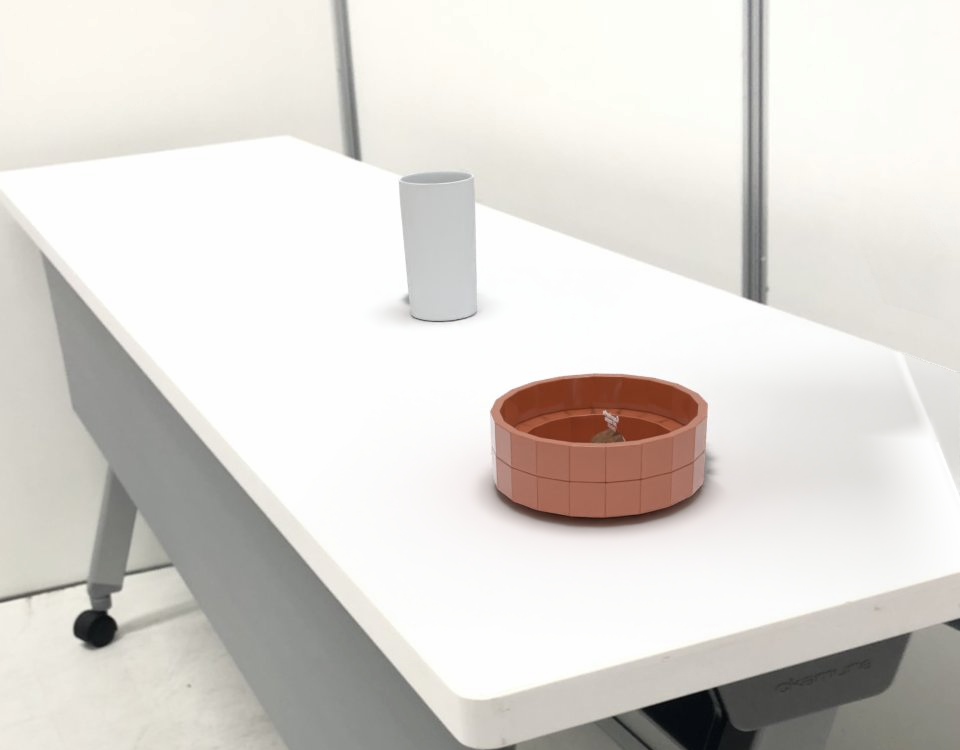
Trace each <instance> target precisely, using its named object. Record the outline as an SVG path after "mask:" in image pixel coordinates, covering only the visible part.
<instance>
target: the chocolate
mask: <svg viewBox="0 0 960 750" xmlns="http://www.w3.org/2000/svg"><path fill="white" fill-rule="evenodd" d="M609 414H610V413H609ZM609 414H608V413H606V410H605V411H603V415H607V417H609V418H611V419H612V420H613V425H614V424H615V425H614V426H616V423H615V422H617V423H618V421H619V419H618V416H616V418H617V420H616V418H614V417H613V416H611V415H609ZM607 417H605V421H607V422H608V427H609V428H611V429H607V430H605V431H603V432H600V433H599V434H597V435H595V436H594V437H593V438H592V439H591V441H590V443H616V442H625V440H624V438H623V436H622V434H620V433H619V432H618V431H617V430H616V429H617V426H616V428H615V427H613V426H612V425H611V424H612V420H610V419H608V418H607ZM607 419H608V420H607ZM609 423H611V424H609Z"/></svg>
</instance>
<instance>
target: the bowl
mask: <svg viewBox="0 0 960 750" xmlns="http://www.w3.org/2000/svg"><path fill="white" fill-rule="evenodd" d="M605 410H606V413H608V414H609V413H610V414H609V415H611V416H613V417H614V418H616V416H618V419H619V421H618V423H617V422H615V423H616V426H617V429H616V430H617V431H618V432H619V433H620V434H622V436H623V438H624V440H625V442H616V443H590V441H591V439H592V438H593V437H594V436H595V435H597V434H599V433H600V432H603V431H605V430H607V429H611V428H609V427H608V422H607V421H605V417H607V415H603V411H605ZM708 411H709V404H708V402H707V401H706V400H705V399H704V398H703V397H702V396H701V394H699V392H696V391H694V390H692V389H691V388H688V387H686V386H684V385H682V384H679V383H677V382H673V381H669V380H665V379H661V378H657V377H652V376H645V375H644V376H643V375H635V374H626V373H598V372H597V373H595V372H594V373H584V374H571V375H570V374H569V375H560V376H554V377H551V378H550V377H549V378H545V379H539V380H536V381H535V380H534V381H530V382H529V383H526V384H522V385H519V386H517V387H514V388H512V389H510V390H508V391H506V392H505V393H503V394H502V395H501V396H499V397H498V398H496V399H495V400H494V403H493V405H492V406H491V408H490V410H489V418H490V419H489V420H490V421H489V422H490V440H491V441H490V444H491V468H492V469H491V470H492V479H493V481H494V485H495V486H496V489H497V490H498V491H499V492H501V493H502V494H503V495H504V496H505V497H507V498H508V499H510V500H511V501H512V502H514V503H516V504H519V505H522V506H524V507H526V508H530V509H532V510H535V511H539V512H545V513H550V514H556V515H561V516H567V517H576V518H588V519H591V518H592V519H595V518H597V519H605V518H618V517H627V516H633V515H642V514H646V513H650V512H654V511H658V510H662V509H665V508H669V507H672V506H674V505H676V504H678V503H680V502H682V501H685V500H686V499H689V498H690V497H692V496H693V495H694V494H695V493H696V492H697V491H698V490H699V489H700V488H701V487H702V486H703V484H704V481H705V468H706V467H705V465H706V451H707V430H708V413H709V412H708ZM607 418H608V419H610V420H612V419H611V418H609V417H607ZM608 419H607V420H608ZM616 420H617V418H616ZM609 424H611V423H609ZM611 425H612V426H613V427H615V428H616V426H614V425H615V424H614V425H613V420H612V424H611Z"/></svg>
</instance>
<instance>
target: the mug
mask: <svg viewBox="0 0 960 750" xmlns="http://www.w3.org/2000/svg"><path fill="white" fill-rule="evenodd" d="M398 187H399V188H398V189H399V205H400V214H401V215H400V217H401V228H402V237H403V247H404V259H405V270H406V281H407V282H406V283H407V291H408V300H409V311H410V315H411V316H412V317H414V318H416V319H419V320H422V321H429V322H446V321H455V320H456V321H457V320H461V319H465V318H468V317H471V316H473V315H474V314H476V313H477V311H478V298H477V297H478V296H477V295H478V293H477V290H478V287H477V284H478V278H477V274H478V273H477V233H476V227H477V226H476V193H475V175H474V174H473V173H471V172H467V171H461V170H432V171H422V172H414V173H410V174H405V175H402V176H400V177H399V178H398Z"/></svg>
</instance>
